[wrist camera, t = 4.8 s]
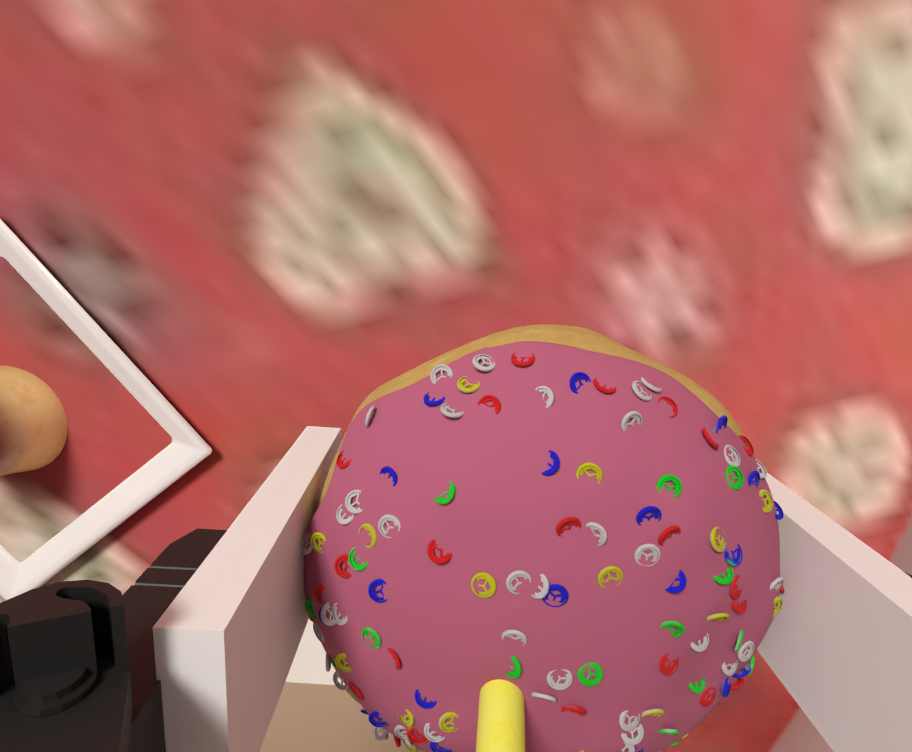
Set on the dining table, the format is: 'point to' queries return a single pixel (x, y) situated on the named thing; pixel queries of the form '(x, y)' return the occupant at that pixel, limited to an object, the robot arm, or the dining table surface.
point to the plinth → (319, 710)
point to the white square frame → (45, 431)
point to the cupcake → (542, 550)
